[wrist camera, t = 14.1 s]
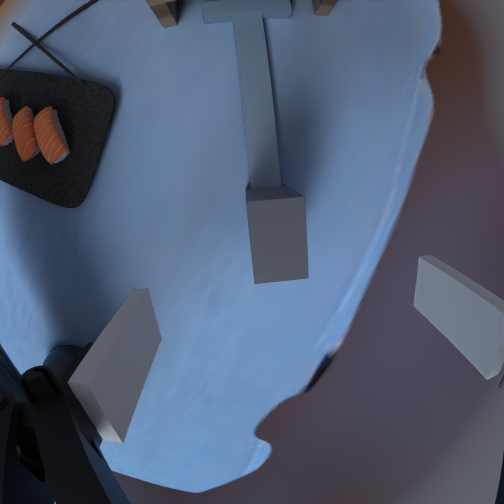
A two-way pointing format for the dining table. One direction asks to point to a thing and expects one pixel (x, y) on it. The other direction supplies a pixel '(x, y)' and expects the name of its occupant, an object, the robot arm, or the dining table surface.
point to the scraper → (264, 146)
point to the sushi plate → (52, 129)
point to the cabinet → (166, 10)
